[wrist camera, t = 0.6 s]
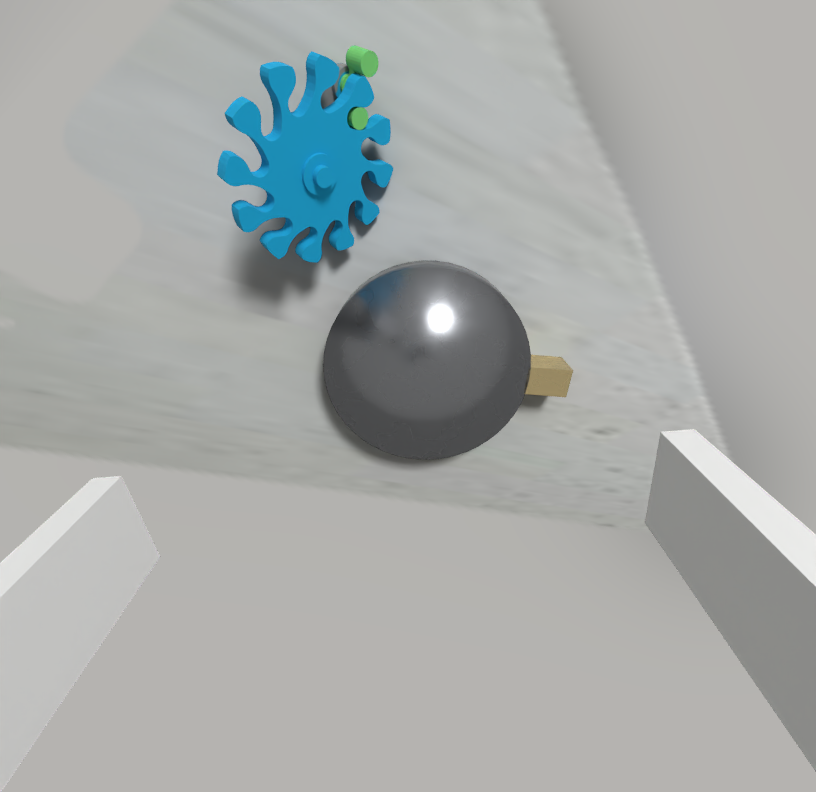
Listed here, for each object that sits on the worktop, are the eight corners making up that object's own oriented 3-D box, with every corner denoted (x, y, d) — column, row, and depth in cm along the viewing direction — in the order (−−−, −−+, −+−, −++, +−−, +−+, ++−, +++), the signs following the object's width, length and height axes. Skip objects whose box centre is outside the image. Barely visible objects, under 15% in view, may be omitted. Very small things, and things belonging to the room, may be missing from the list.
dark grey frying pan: (329, 435, 35) (324, 452, 32) (329, 252, 28) (322, 257, 26) (538, 450, 35) (547, 468, 33) (582, 273, 29) (596, 280, 27)
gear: (339, 291, 28) (191, 217, 20) (293, 251, 31) (147, 173, 23) (438, 130, 25) (316, -33, 17) (377, 103, 28) (248, -47, 20)
